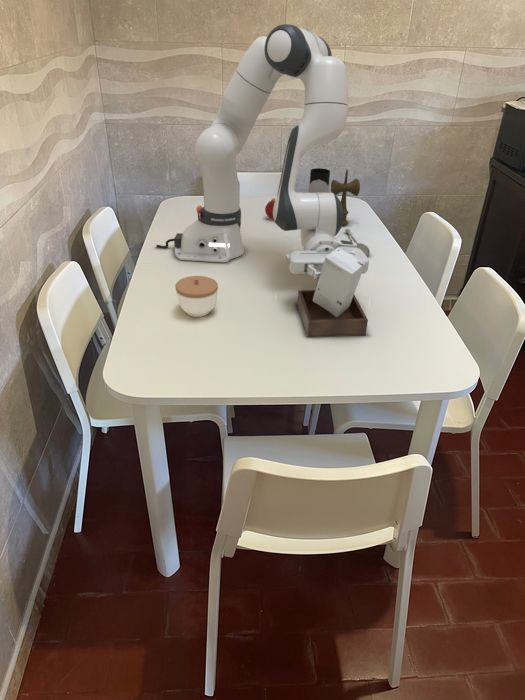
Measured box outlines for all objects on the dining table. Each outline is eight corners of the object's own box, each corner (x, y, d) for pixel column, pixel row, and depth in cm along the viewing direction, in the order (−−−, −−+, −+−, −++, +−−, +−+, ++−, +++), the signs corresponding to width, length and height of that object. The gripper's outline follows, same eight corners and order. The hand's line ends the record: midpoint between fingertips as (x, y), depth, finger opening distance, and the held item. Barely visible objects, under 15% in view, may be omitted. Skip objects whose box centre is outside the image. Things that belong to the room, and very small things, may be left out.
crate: (307, 337, 130) (308, 321, 127) (296, 304, 143) (298, 290, 141) (365, 335, 131) (368, 319, 129) (349, 303, 145) (351, 289, 142)
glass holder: (305, 211, 208) (307, 172, 200) (308, 200, 220) (311, 163, 212) (327, 213, 207) (331, 174, 199) (329, 202, 219) (333, 165, 210)
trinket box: (185, 325, 133) (183, 291, 128) (171, 306, 141) (169, 274, 135) (224, 316, 137) (224, 283, 132) (208, 298, 145) (207, 267, 140)
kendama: (355, 226, 196) (363, 171, 185) (330, 227, 194) (336, 172, 183) (350, 221, 201) (357, 167, 190) (326, 222, 199) (331, 167, 188)
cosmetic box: (311, 301, 135) (322, 256, 123) (325, 290, 138) (337, 245, 127) (338, 319, 131) (351, 274, 120) (351, 307, 135) (366, 262, 123)
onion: (278, 222, 197) (279, 201, 192) (263, 221, 198) (264, 199, 193) (281, 217, 202) (282, 196, 197) (266, 216, 203) (267, 195, 198)
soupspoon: (350, 259, 172) (370, 260, 172) (352, 250, 170) (372, 251, 170) (338, 232, 189) (356, 233, 190) (339, 223, 188) (357, 224, 188)
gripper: (285, 242, 138) (293, 264, 127) (361, 242, 140) (376, 264, 129) (284, 264, 142) (291, 288, 130) (358, 264, 144) (372, 287, 132)
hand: (334, 276), depth 130 cm, fingers closed on cosmetic box, 7 cm apart
